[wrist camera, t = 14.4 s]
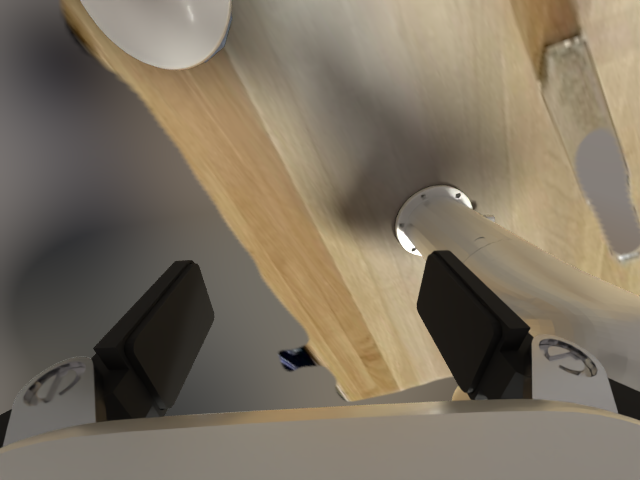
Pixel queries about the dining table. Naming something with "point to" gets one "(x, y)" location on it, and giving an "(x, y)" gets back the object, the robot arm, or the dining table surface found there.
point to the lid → (163, 28)
